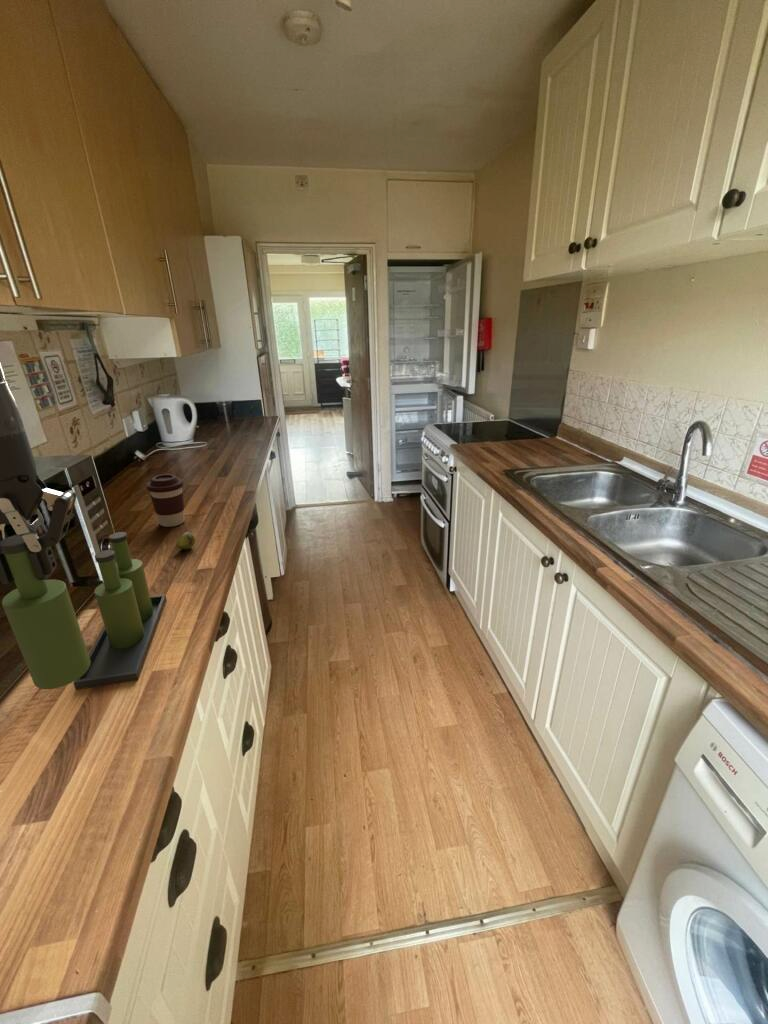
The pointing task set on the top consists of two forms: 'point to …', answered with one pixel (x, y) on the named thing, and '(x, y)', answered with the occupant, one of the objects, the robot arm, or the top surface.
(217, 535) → the top surface
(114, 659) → the tray
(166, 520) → the coffee cup
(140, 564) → the bottle far
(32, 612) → the bottle loose
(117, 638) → the bottle mid
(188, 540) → the lime
